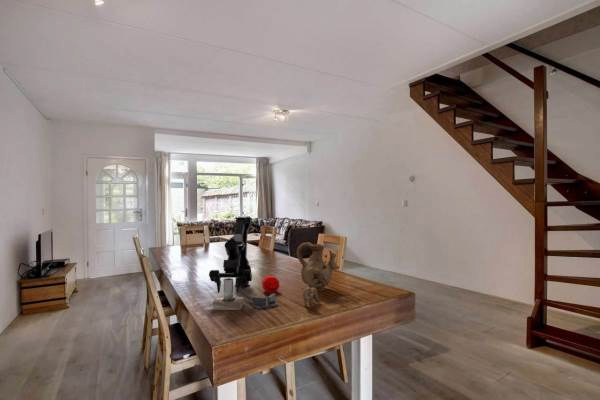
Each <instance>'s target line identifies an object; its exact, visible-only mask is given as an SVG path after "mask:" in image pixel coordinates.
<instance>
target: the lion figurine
mask: <svg viewBox="0 0 600 400" xmlns="http://www.w3.org/2000/svg"><path fill="white" fill-rule="evenodd" d="M302 292H303V293H302V298H303V302H304V304H303V307H304V306H306V307H307V302H308V303H309V307H310V308H312V307H313V303H312V302H313V297H314V299H315V302H319V301H320V300H319V297H320V296H319V295H318V292H317V289H316V288H309V286H307V287H305V288H304V289H303V291H302Z"/></svg>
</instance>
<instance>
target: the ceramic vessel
mask: <svg viewBox="0 0 600 400" xmlns="http://www.w3.org/2000/svg"><path fill="white" fill-rule="evenodd" d="M324 247H325V245H324V244H319V243H314V244H313V243H312V242H309V241H307V242H302V243H300V245H299V246H298V247H297V249H296V257H297V260H298V261H299V263H300V264H301V265H302V267H301V269H300V276H301V279H302V282H303V283H304V284H305V285H307V287H309V288H316V289H317V293H318V291H319V292H322V291H324V290H325V289H326V288H325V287H326V286H328V285H329V284H330V283H331V281H332V277H333V271H335V270H338V269H340V266H339V265H338V264H337V263H336V261H335V259H336V257H337V254H336V253H333V251H331V250H329V251H328V252H329V261H328V262H327V263H325V262H324V260H323V252H324ZM305 248H309V249H310V250H311V255H309V259H308V262H307V261H305V259H304V258H303V256H302V252H303V249H305Z"/></svg>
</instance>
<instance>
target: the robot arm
mask: <svg viewBox="0 0 600 400" xmlns="http://www.w3.org/2000/svg"><path fill="white" fill-rule="evenodd" d="M252 224H253V218H252V217H251V216H250V215H239V216H238V217H235V229H234V233H233V236H232V237H230V238H229V240H227V241H225V243H224V248H225V252H226V255H227V259H224V260H223V265H222V266H223V267H222V268H223V271H224V272H220V270H219V269H211V270H209V272H208V276H209V277H208V278H209V279H210V281H211V282H213V283H215V284H216V289H217V293H218V294H219V293H220V292H221V285H222V281H221V278H225V279H228V278H231V279H233V278H234V279H235V284H234V287H236V293H237V294H239V292H240V290H241V289H245V288H249V287H251V286H252V285H251V284H250V282H251V281H252V280H253V274H252V267H251V264H250V261H249V260H248V258H247V255H248V252H247V251H248V232H249V231H250V229H251V227H252Z"/></svg>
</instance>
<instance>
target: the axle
mask: <svg viewBox="0 0 600 400" xmlns="http://www.w3.org/2000/svg"><path fill="white" fill-rule="evenodd" d="M223 297H224V302H233V297H234V279H233V278H228V277H227V278H225V279H223Z"/></svg>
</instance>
